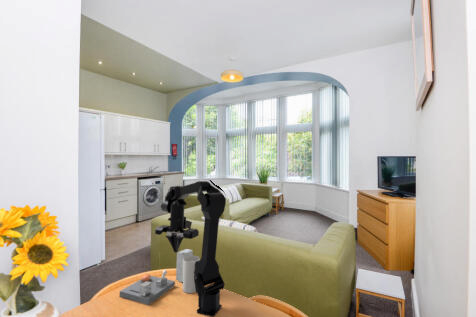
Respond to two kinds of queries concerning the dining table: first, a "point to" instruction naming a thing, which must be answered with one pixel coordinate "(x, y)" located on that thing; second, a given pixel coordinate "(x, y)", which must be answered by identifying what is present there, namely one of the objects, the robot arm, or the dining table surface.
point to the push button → (145, 278)
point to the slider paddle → (145, 288)
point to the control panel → (156, 291)
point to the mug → (189, 273)
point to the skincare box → (181, 263)
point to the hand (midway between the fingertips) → (176, 252)
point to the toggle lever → (163, 276)
